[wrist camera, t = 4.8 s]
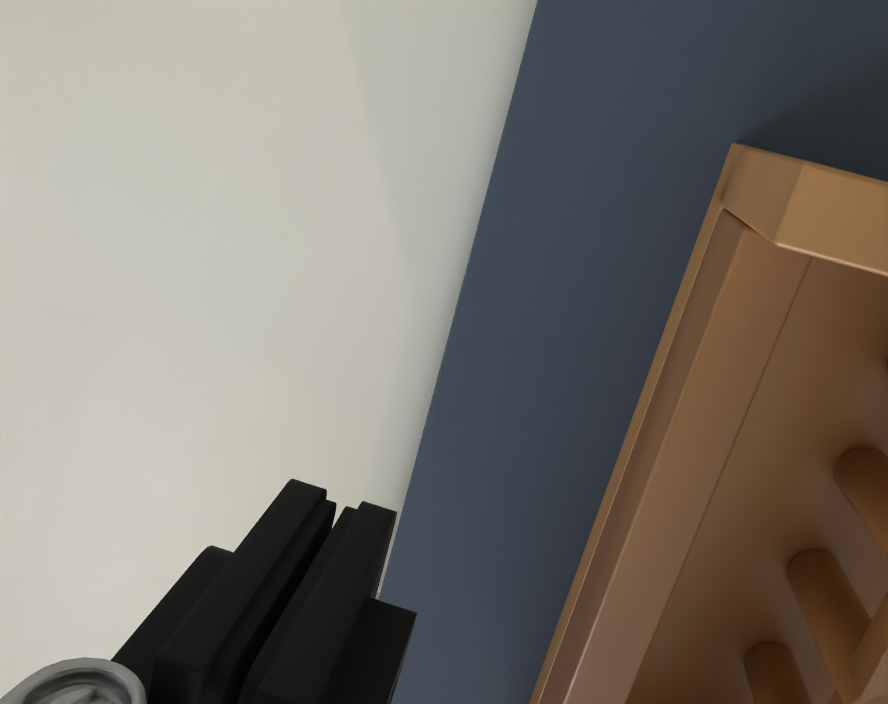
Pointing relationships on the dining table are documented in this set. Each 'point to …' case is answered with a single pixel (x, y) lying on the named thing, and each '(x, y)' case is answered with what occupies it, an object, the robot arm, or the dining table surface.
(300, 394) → the dining table surface
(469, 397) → the mat
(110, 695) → the robot arm
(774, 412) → the rack
